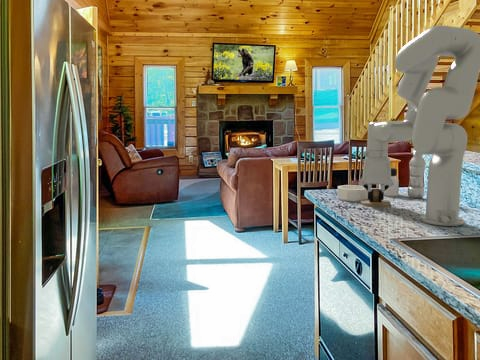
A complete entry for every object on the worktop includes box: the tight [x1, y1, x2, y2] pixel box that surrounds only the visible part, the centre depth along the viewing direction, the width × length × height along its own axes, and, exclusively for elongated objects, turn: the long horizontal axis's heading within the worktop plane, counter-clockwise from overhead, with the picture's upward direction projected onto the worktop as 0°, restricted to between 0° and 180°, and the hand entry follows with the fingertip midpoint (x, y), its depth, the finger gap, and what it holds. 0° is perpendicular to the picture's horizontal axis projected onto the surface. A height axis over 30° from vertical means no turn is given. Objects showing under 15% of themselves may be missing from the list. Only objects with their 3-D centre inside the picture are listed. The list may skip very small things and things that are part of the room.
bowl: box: [337, 184, 368, 202], centre depth 168 cm, size 12×12×5 cm
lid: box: [360, 187, 391, 208], centre depth 156 cm, size 11×11×6 cm
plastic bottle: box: [406, 149, 427, 199], centre depth 167 cm, size 6×7×20 cm
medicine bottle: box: [378, 167, 400, 197], centre depth 176 cm, size 7×7×12 cm
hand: (375, 201), depth 156 cm, fingers closed on lid, 3 cm apart
